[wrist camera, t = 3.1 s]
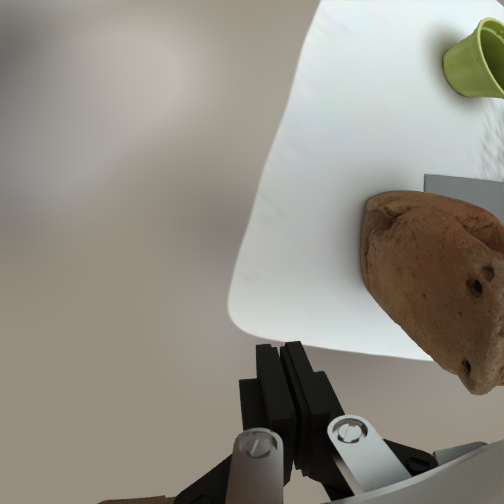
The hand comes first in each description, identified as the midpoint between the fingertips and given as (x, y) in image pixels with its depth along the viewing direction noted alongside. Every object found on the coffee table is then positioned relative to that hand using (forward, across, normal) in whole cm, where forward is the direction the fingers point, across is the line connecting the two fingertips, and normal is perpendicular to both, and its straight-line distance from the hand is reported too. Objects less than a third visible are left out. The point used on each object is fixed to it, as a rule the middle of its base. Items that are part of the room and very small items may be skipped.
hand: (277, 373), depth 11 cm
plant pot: (+19, -26, -20) cm, 38 cm away
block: (+19, -15, 0) cm, 24 cm away
